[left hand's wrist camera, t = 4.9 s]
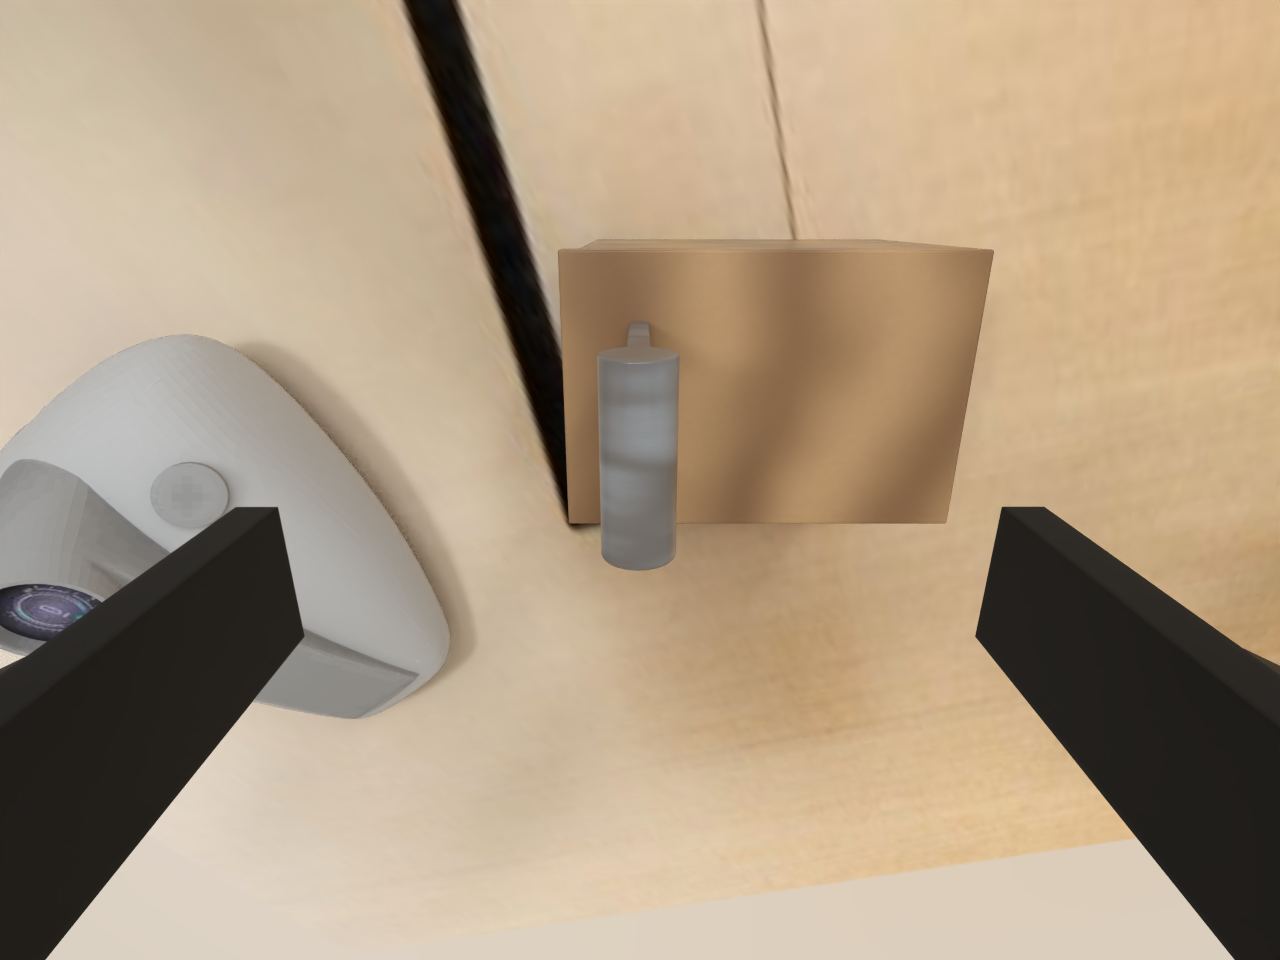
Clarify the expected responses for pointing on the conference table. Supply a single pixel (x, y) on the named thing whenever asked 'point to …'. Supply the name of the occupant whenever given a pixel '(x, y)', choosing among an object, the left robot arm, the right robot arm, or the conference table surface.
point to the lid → (763, 387)
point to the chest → (760, 244)
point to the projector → (211, 518)
